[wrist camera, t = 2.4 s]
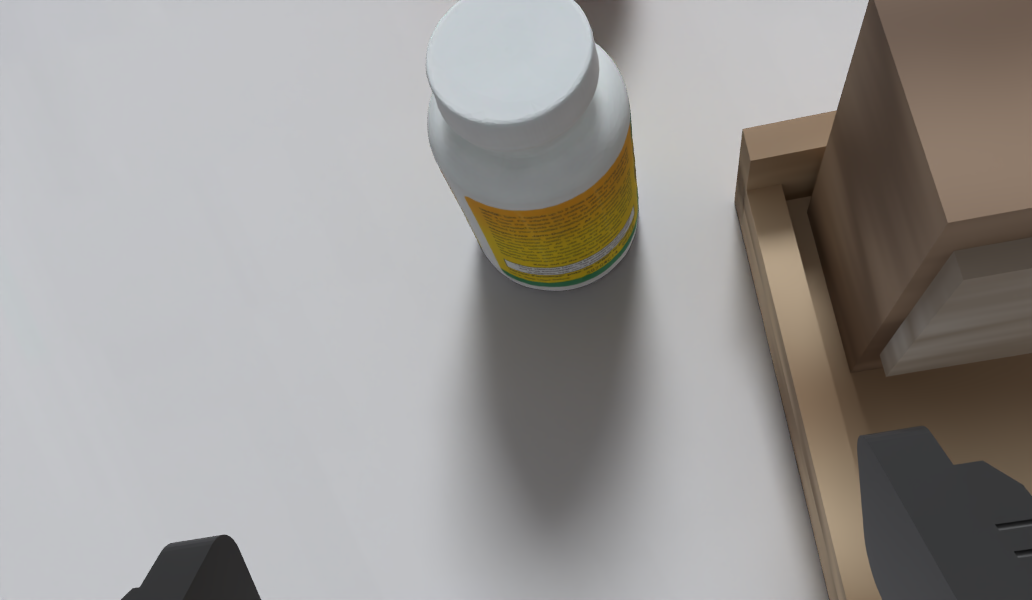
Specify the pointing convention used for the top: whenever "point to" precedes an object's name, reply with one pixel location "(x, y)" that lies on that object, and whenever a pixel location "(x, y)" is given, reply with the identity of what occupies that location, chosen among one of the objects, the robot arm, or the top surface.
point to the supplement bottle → (534, 139)
